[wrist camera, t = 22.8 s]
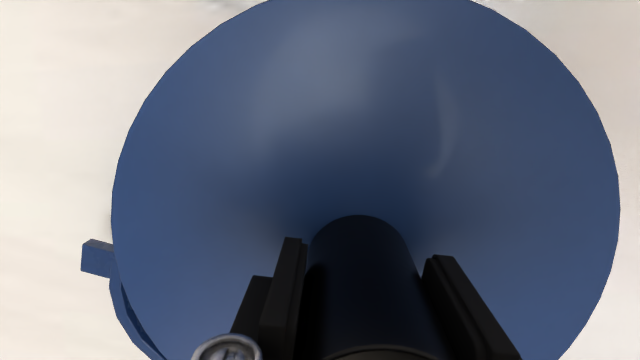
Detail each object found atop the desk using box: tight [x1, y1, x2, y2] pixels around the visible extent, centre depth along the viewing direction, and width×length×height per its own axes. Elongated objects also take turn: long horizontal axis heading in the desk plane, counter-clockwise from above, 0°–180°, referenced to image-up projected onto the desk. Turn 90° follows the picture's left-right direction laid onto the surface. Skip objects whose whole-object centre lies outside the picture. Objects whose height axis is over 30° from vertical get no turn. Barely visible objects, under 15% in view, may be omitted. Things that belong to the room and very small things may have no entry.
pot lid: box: [111, 0, 620, 360], centre depth 10 cm, size 18×18×7 cm
